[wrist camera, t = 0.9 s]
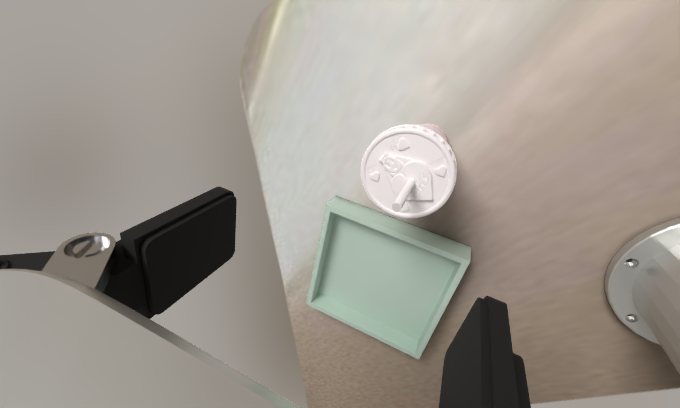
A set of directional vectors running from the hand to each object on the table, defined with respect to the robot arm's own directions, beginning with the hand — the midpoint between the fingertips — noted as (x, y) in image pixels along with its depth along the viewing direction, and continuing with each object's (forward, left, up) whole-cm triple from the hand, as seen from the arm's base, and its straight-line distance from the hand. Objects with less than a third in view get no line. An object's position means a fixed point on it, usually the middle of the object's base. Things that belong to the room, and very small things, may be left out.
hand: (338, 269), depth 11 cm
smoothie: (0, 0, -21) cm, 21 cm away
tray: (0, +16, -21) cm, 26 cm away
